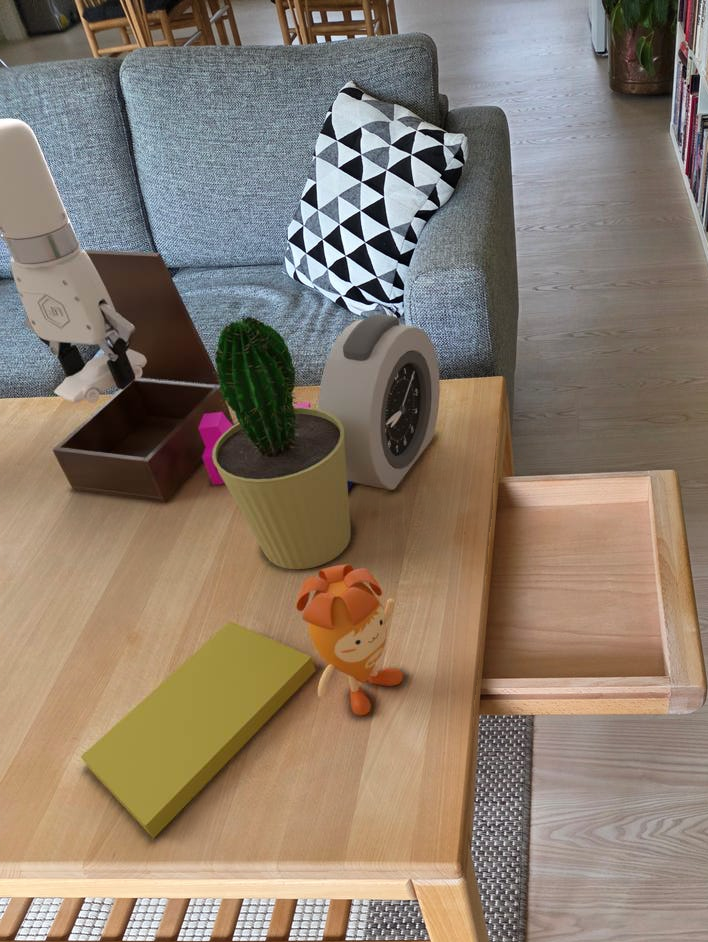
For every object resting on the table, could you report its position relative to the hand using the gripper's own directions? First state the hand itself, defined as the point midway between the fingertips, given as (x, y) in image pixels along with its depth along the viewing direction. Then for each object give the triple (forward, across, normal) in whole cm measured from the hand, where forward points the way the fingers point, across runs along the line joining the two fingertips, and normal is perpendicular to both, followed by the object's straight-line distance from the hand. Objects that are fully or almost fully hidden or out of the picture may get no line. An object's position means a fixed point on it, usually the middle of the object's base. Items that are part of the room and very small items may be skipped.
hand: (102, 380), depth 114 cm
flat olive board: (+15, +33, -39) cm, 53 cm away
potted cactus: (+15, +30, -8) cm, 35 cm away
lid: (-2, -1, +12) cm, 13 cm away
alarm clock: (+15, +34, +11) cm, 39 cm away
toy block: (+15, +17, +6) cm, 24 cm away
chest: (+15, -1, +5) cm, 16 cm away
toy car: (+1, 0, 0) cm, 1 cm away
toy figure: (+15, +48, -29) cm, 58 cm away
